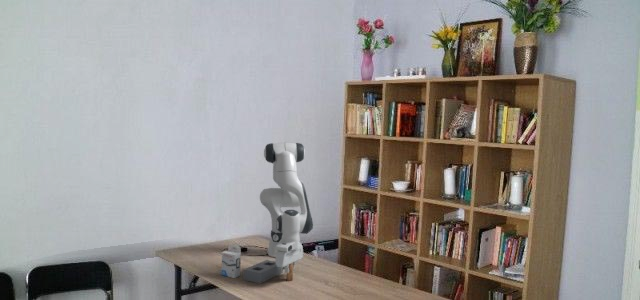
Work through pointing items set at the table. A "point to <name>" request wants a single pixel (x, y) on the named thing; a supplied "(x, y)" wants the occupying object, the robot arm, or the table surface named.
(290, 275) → the peg
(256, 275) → the hole block
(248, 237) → the table surface
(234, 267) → the ink box
